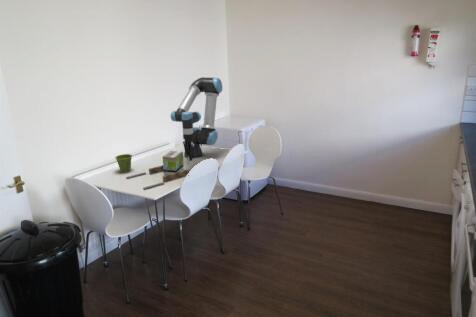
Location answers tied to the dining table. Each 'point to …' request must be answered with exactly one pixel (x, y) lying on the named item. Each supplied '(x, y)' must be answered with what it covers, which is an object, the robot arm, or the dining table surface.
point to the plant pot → (124, 162)
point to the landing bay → (147, 186)
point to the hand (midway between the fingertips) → (190, 164)
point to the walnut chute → (169, 176)
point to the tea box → (173, 162)
